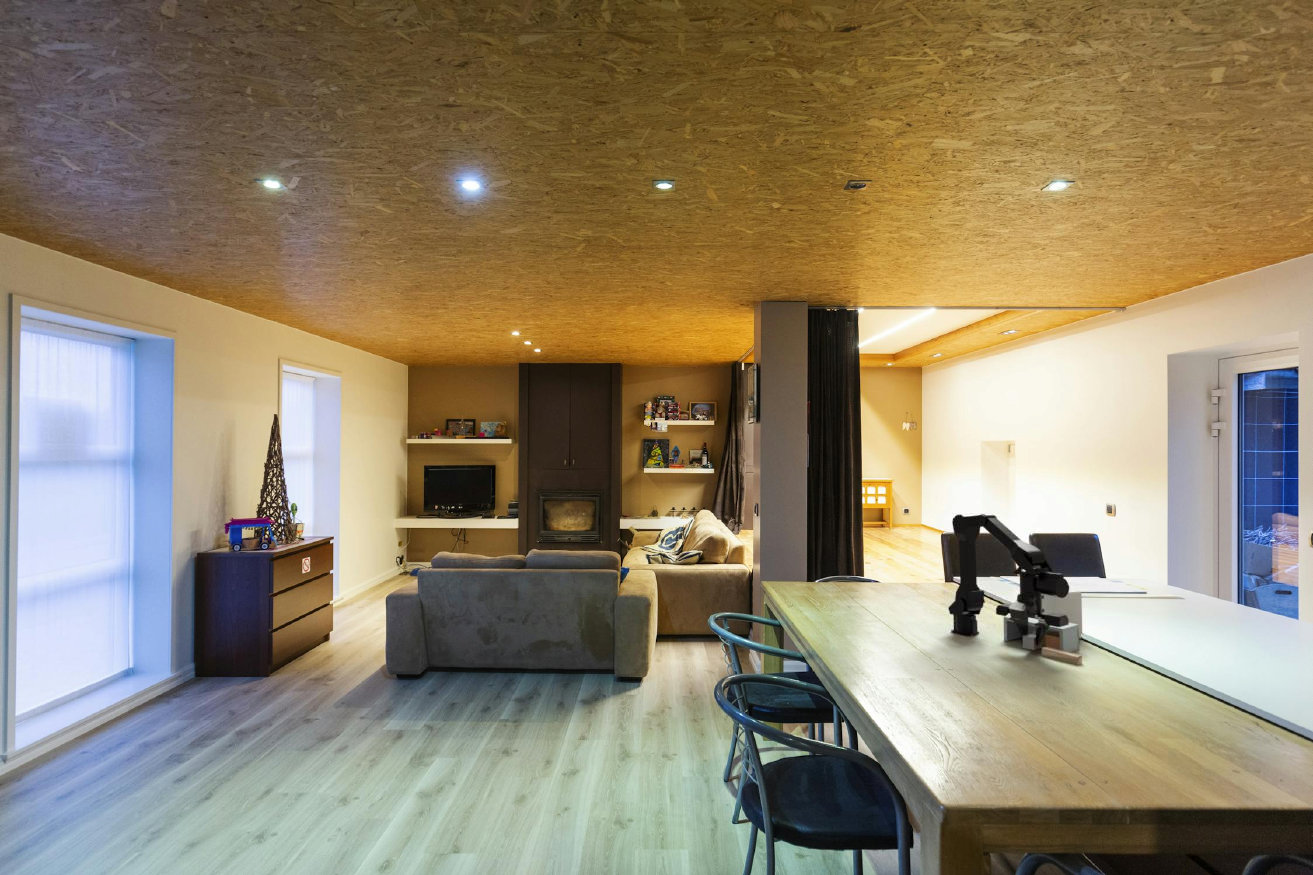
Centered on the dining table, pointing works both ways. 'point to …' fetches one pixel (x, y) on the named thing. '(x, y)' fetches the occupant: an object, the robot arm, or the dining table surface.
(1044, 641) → the grey rectangular bar
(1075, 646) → the cubby
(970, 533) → the robot arm
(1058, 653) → the rod
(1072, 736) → the dining table surface
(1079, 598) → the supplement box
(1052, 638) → the block
